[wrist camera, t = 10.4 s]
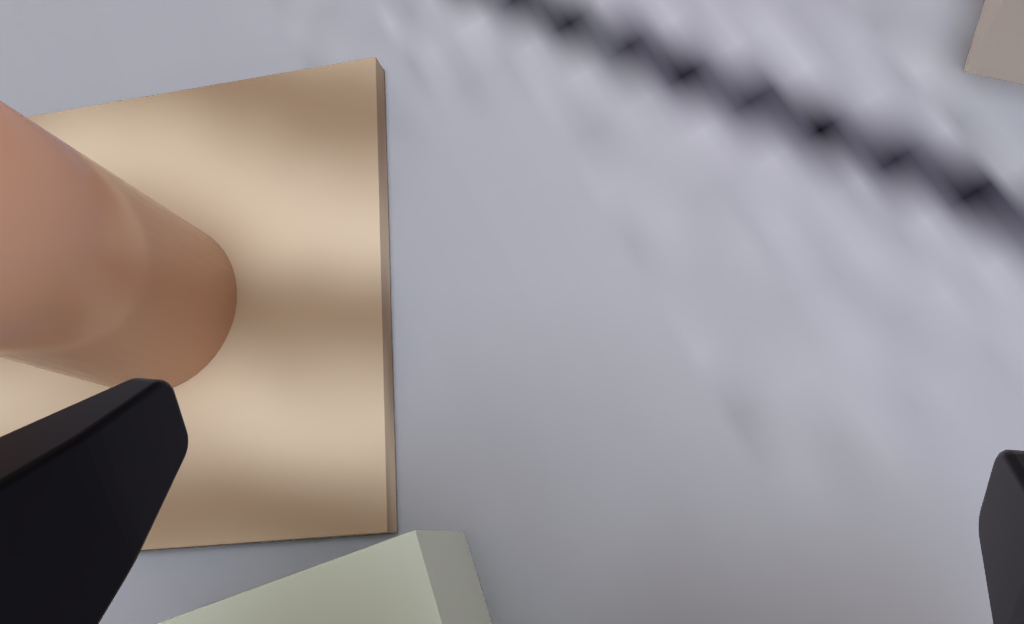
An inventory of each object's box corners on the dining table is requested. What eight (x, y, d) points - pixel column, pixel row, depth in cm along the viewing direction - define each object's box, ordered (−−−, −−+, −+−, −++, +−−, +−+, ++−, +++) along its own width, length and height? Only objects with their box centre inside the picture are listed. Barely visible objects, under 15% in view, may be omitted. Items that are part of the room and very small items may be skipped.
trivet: (397, 532, 23) (387, 531, 23) (-54, 565, 26) (-77, 565, 25) (384, 70, 27) (375, 57, 26) (-8, 137, 29) (-27, 126, 29)
